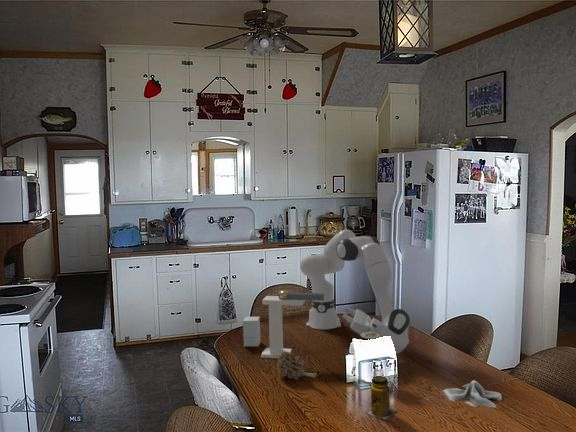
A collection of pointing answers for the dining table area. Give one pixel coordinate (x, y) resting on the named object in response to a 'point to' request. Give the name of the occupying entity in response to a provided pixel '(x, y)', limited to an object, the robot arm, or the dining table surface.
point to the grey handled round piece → (292, 366)
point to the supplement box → (251, 331)
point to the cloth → (473, 395)
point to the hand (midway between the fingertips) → (344, 311)
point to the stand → (277, 325)
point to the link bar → (300, 296)
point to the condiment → (380, 398)
